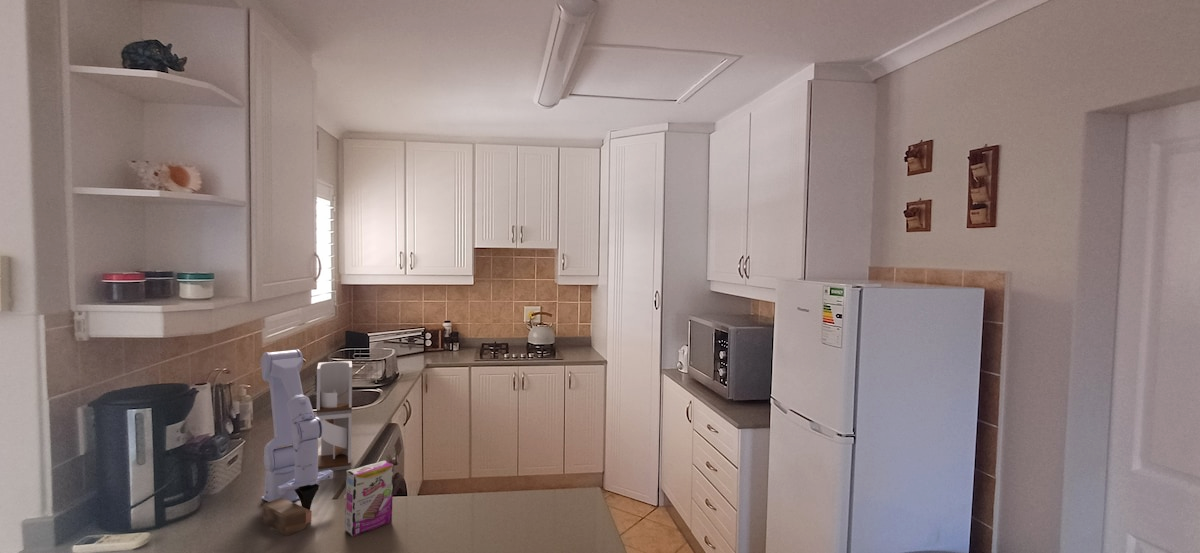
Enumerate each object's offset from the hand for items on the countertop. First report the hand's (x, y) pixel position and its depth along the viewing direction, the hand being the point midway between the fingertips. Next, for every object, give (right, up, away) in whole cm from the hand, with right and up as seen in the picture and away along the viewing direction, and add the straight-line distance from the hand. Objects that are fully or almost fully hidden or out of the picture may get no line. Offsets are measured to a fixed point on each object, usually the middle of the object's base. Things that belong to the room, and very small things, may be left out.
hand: (306, 511), depth 151 cm
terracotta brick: (-2, -2, -3) cm, 5 cm away
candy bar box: (+19, -3, -5) cm, 20 cm away
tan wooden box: (-3, -2, -5) cm, 6 cm away
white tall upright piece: (-11, 0, +38) cm, 39 cm away
